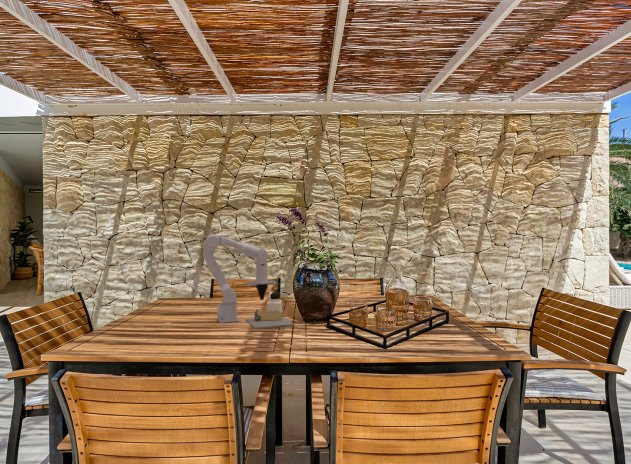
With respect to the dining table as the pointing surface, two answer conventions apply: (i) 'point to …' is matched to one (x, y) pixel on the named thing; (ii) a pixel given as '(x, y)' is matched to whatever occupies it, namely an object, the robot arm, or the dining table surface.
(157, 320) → the dining table surface
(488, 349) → the dining table surface
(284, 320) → the board
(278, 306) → the medicine bottle
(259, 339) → the dining table surface
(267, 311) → the fixed leaf
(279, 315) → the swing leaf
